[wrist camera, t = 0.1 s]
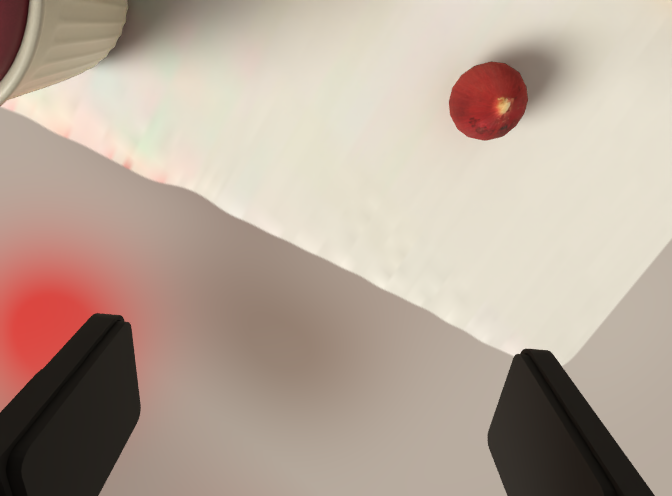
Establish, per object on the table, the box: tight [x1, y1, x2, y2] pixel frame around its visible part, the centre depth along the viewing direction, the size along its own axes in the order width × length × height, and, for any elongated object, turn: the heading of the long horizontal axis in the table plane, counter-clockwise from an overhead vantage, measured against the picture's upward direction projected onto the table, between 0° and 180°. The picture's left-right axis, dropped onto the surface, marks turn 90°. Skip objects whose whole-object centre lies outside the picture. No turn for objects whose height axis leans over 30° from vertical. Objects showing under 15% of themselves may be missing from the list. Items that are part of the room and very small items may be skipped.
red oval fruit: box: [449, 62, 528, 140], centre depth 34 cm, size 6×6×8 cm
